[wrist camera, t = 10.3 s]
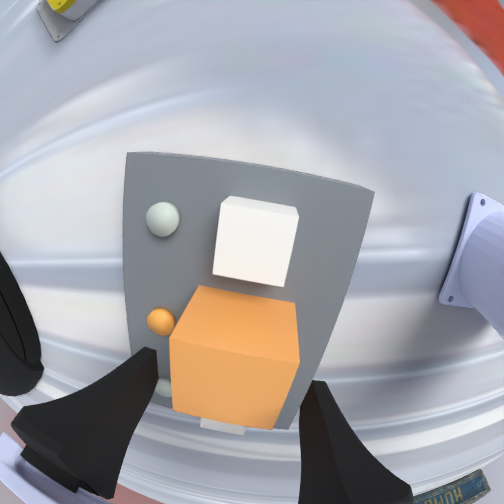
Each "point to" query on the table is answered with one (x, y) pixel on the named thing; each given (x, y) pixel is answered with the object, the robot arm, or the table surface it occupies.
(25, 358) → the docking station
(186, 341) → the orange rounded cube
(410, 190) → the table surface
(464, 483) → the metal box
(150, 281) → the breaker board
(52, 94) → the table surface
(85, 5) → the emergency button
